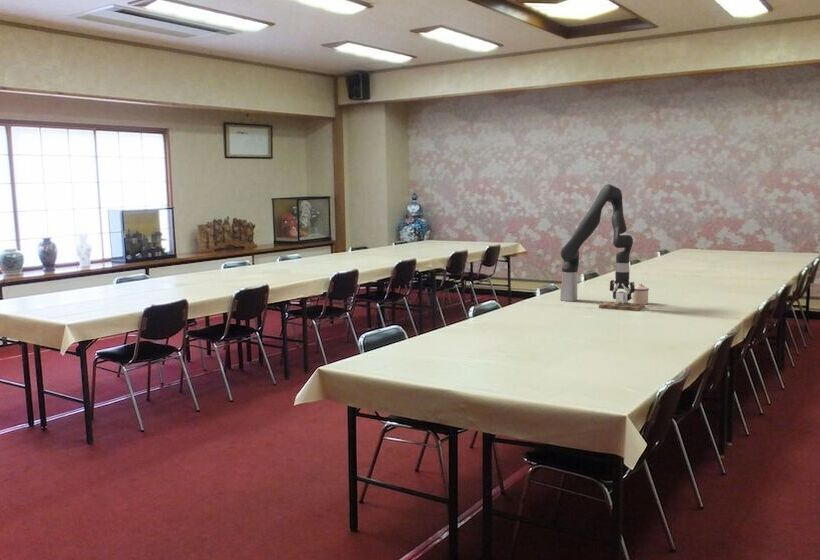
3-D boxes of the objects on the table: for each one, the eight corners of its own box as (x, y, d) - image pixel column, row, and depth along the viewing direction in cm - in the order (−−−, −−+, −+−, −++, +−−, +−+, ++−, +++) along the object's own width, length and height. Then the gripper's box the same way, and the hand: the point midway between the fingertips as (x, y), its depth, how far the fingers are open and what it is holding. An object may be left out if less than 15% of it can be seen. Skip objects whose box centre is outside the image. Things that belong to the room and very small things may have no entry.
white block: (622, 301, 419) (622, 290, 418) (629, 302, 415) (629, 291, 415) (613, 303, 413) (614, 292, 413) (621, 303, 410) (621, 292, 409)
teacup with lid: (650, 303, 429) (651, 283, 427) (644, 305, 422) (645, 285, 420) (630, 301, 436) (631, 281, 434) (624, 303, 429) (625, 283, 427)
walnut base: (598, 308, 415) (598, 303, 415) (605, 304, 426) (605, 299, 426) (638, 311, 404) (638, 306, 403) (644, 307, 415) (644, 302, 414)
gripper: (637, 271, 409) (636, 300, 412) (614, 269, 420) (614, 297, 422) (630, 272, 404) (629, 301, 407) (607, 270, 415) (607, 299, 417)
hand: (621, 299), depth 414 cm, fingers open, 8 cm apart
